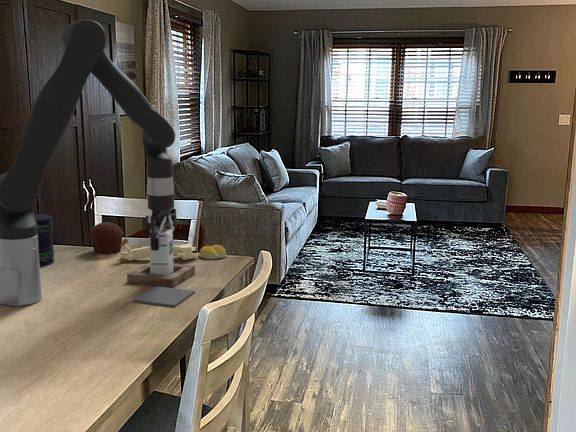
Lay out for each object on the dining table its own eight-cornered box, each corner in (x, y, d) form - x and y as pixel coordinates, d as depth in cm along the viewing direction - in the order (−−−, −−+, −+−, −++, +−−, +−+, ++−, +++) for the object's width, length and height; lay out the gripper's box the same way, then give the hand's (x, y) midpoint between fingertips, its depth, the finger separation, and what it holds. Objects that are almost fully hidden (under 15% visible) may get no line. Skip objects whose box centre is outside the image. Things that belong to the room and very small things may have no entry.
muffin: (131, 249, 203) (130, 221, 201) (113, 257, 192) (112, 227, 190) (101, 246, 206) (100, 218, 204) (82, 253, 195) (81, 225, 193)
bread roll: (196, 255, 198) (196, 243, 198) (221, 252, 202) (221, 241, 201) (203, 261, 191) (203, 249, 190) (229, 258, 195) (229, 247, 194)
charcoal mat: (174, 307, 148) (174, 305, 147) (133, 301, 151) (133, 299, 151) (195, 292, 159) (195, 290, 159) (156, 287, 162) (155, 285, 162)
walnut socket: (172, 287, 163) (172, 279, 162) (127, 282, 167) (127, 273, 166) (195, 273, 176) (195, 265, 176) (152, 268, 180) (152, 261, 180)
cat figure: (121, 269, 184) (199, 260, 188) (117, 242, 182) (197, 234, 187) (123, 260, 194) (198, 253, 198) (120, 235, 192) (196, 228, 196)
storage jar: (20, 260, 186) (17, 214, 183) (53, 257, 190) (51, 213, 187) (21, 268, 177) (17, 221, 174) (55, 265, 181) (52, 218, 178)
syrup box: (169, 281, 169) (169, 232, 166) (149, 280, 169) (148, 232, 166) (174, 275, 174) (173, 228, 171) (154, 274, 174) (153, 227, 171)
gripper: (160, 197, 159) (161, 254, 162) (183, 189, 172) (184, 242, 175) (135, 195, 161) (138, 251, 164) (161, 188, 174) (162, 240, 177)
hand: (162, 246), depth 170 cm, fingers open, 8 cm apart
